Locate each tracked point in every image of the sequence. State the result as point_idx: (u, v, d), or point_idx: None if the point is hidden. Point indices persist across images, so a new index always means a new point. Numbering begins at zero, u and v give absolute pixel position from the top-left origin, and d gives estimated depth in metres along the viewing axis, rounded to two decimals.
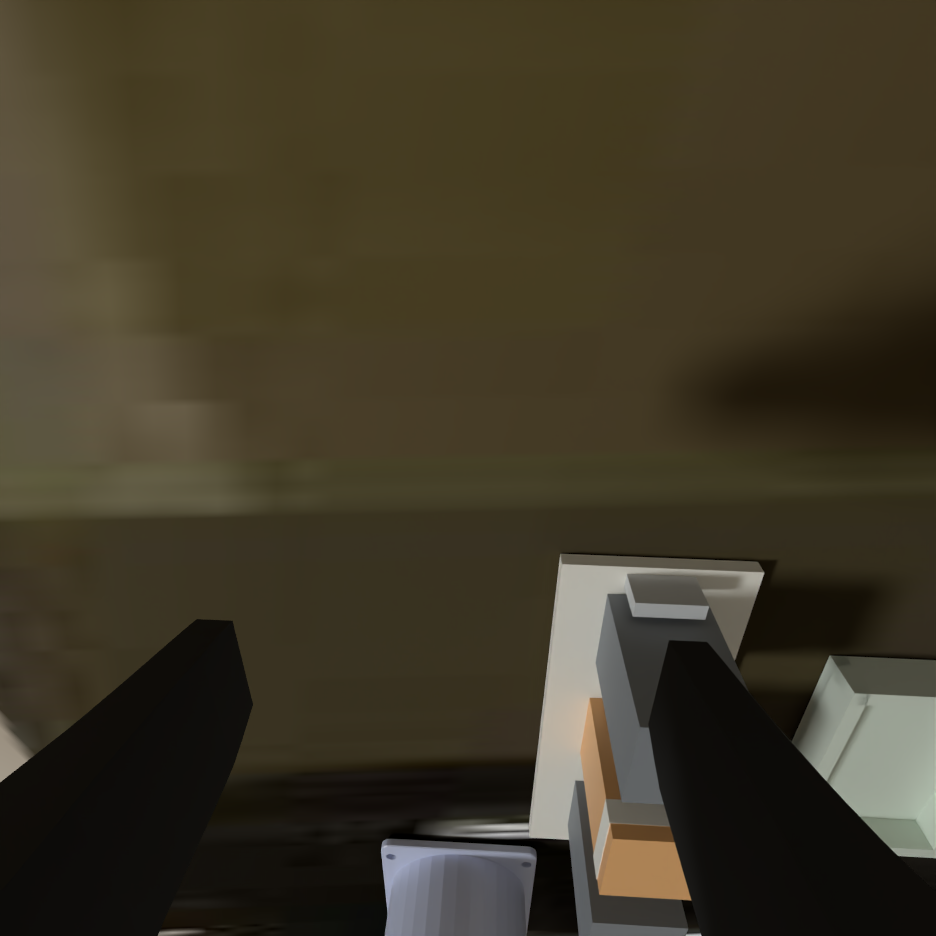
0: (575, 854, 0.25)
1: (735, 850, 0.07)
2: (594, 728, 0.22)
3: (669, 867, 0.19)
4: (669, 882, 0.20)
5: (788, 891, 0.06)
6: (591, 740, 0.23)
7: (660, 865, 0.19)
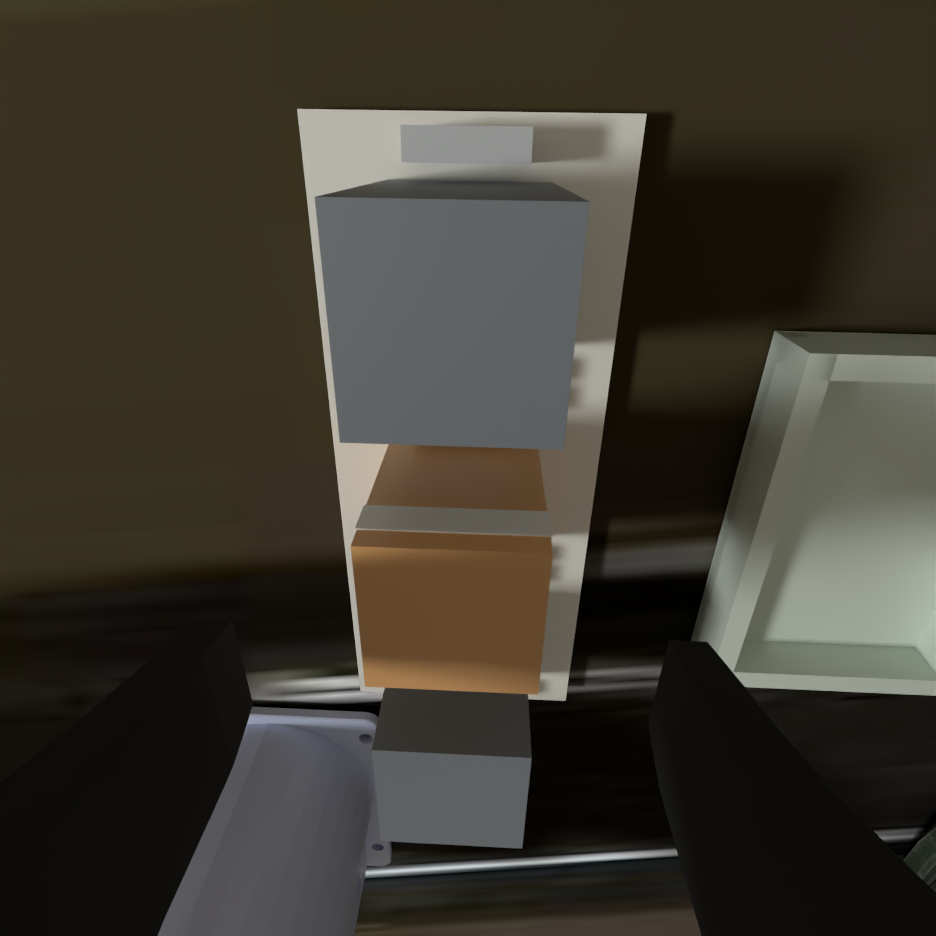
0: None
1: (735, 850, 0.07)
2: None
3: (469, 615, 0.11)
4: (477, 652, 0.11)
5: (788, 891, 0.06)
6: None
7: (452, 611, 0.11)
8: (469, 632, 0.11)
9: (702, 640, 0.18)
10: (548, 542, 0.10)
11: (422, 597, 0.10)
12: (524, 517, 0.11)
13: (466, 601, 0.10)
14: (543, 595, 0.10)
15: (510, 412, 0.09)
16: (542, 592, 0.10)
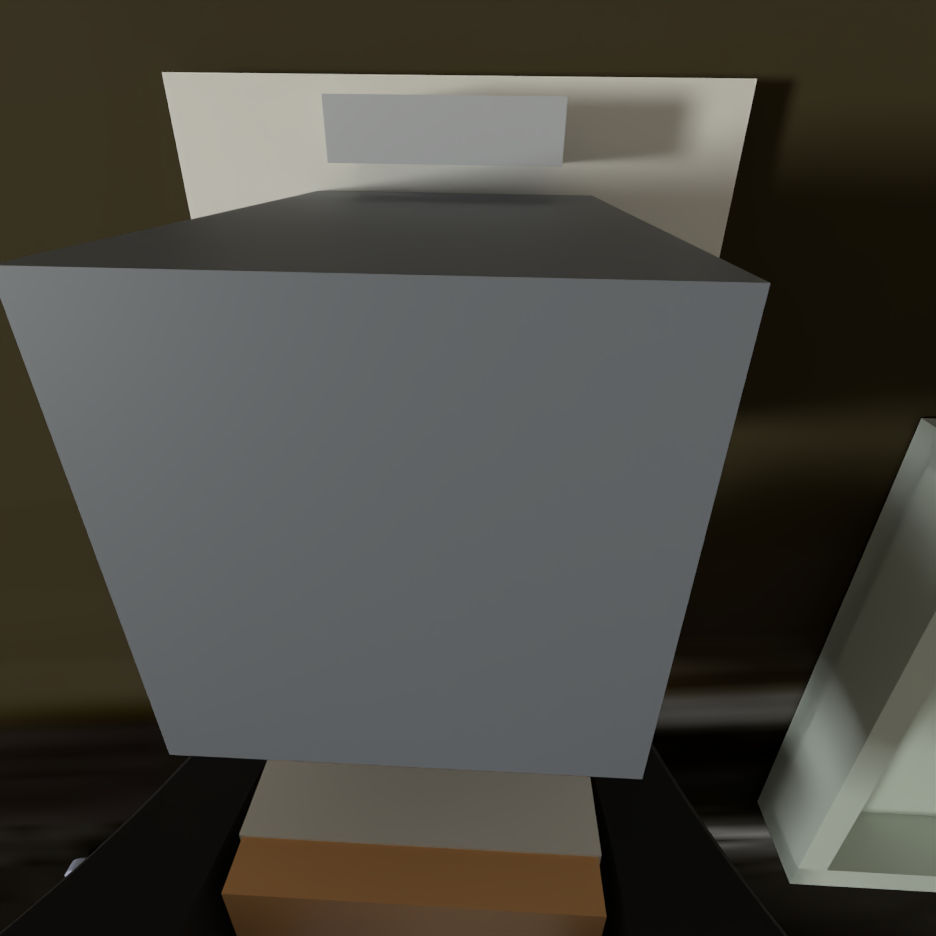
0: None
1: None
2: None
3: None
4: None
5: (609, 880, 0.06)
6: None
7: None
8: None
9: (778, 813, 0.13)
10: (595, 876, 0.05)
11: None
12: (545, 792, 0.06)
13: None
14: None
15: (529, 718, 0.04)
16: None
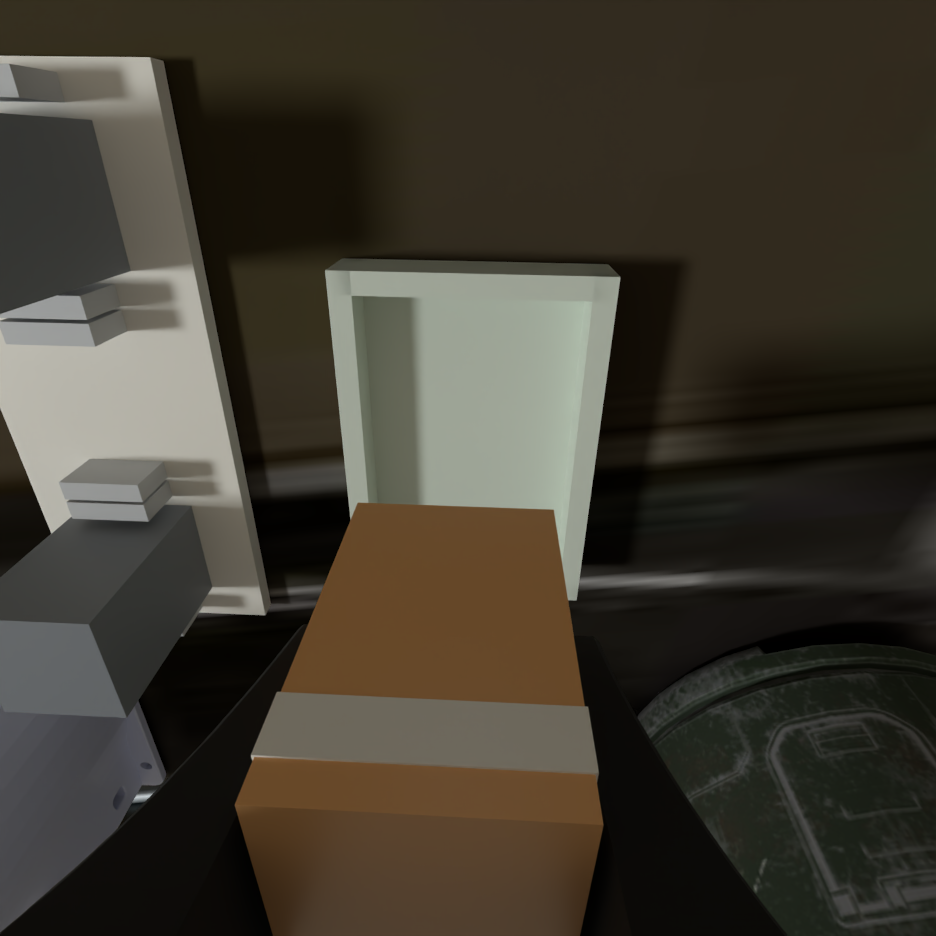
0: None
1: None
2: (340, 552, 0.09)
3: (452, 899, 0.06)
4: None
5: (609, 881, 0.06)
6: None
7: (422, 893, 0.06)
8: (453, 918, 0.06)
9: None
10: (593, 791, 0.06)
11: (369, 875, 0.06)
12: (546, 719, 0.06)
13: (447, 882, 0.06)
14: (582, 877, 0.06)
15: None
16: (581, 876, 0.06)
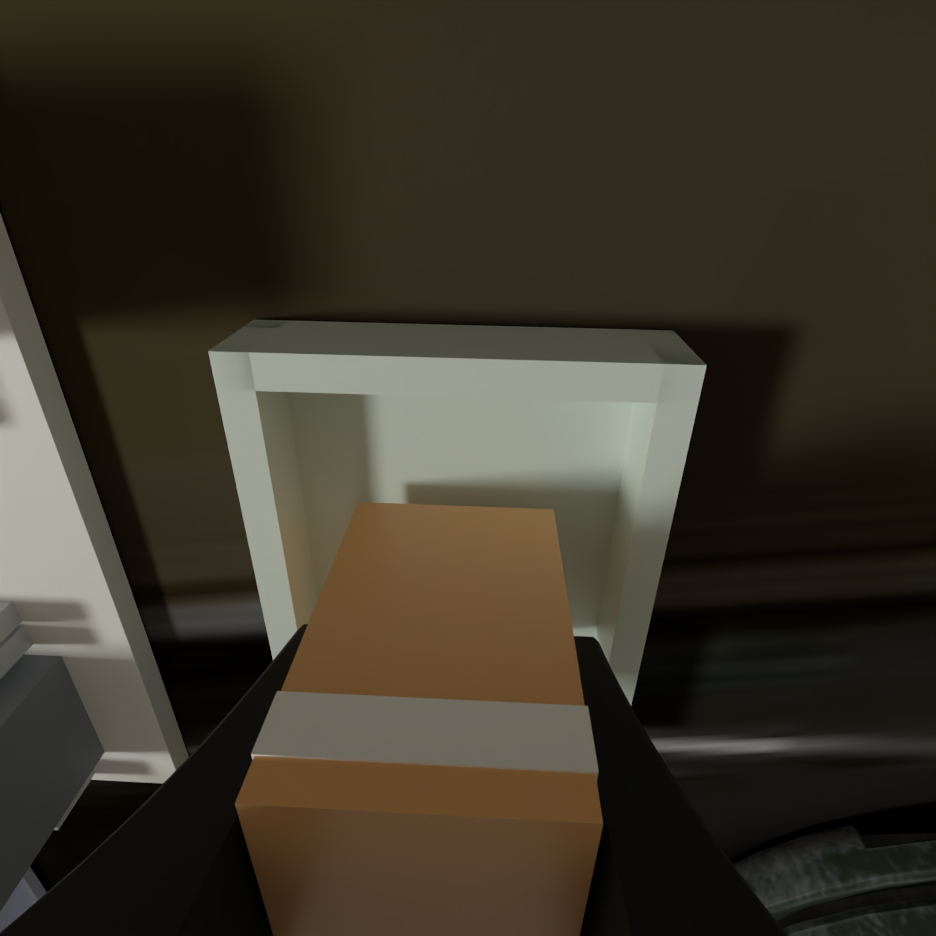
0: None
1: None
2: (340, 551, 0.09)
3: (452, 898, 0.06)
4: None
5: (609, 880, 0.06)
6: None
7: (422, 892, 0.06)
8: (453, 917, 0.06)
9: None
10: (592, 790, 0.06)
11: (369, 874, 0.06)
12: (545, 719, 0.06)
13: (446, 881, 0.06)
14: (582, 876, 0.06)
15: None
16: (581, 875, 0.06)
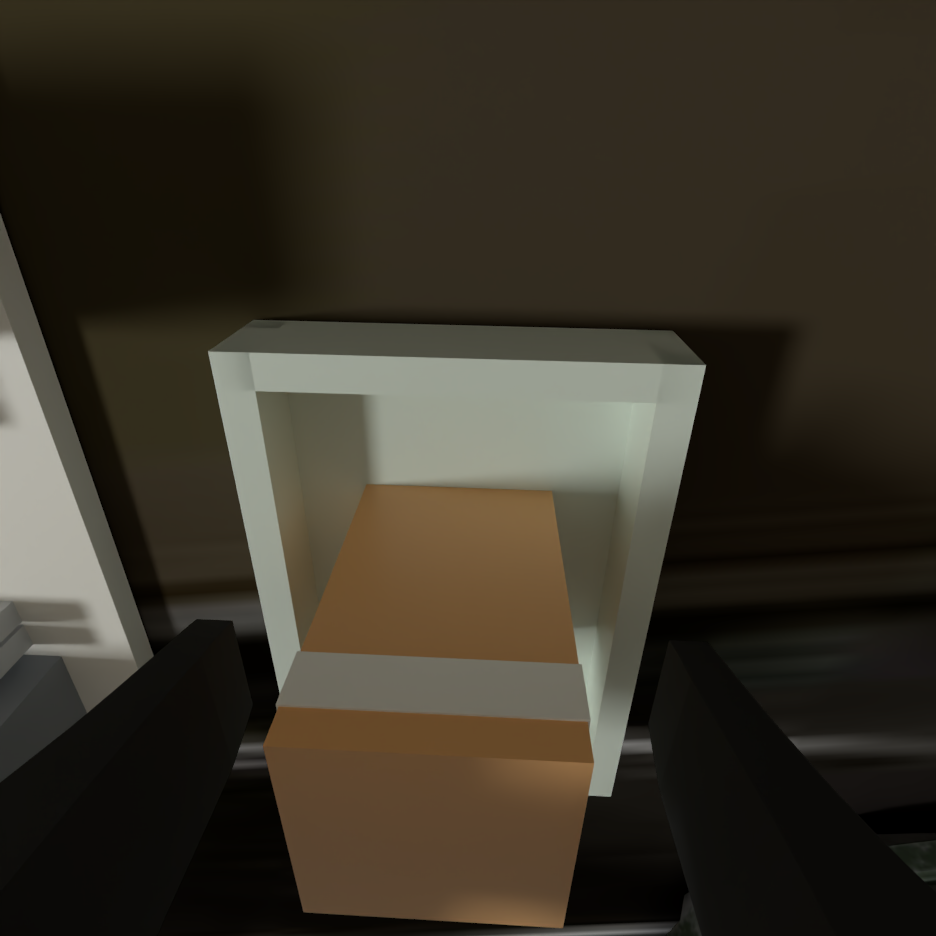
0: None
1: (735, 850, 0.07)
2: None
3: (458, 836, 0.07)
4: (471, 879, 0.07)
5: (788, 891, 0.06)
6: None
7: (431, 830, 0.07)
8: (458, 855, 0.07)
9: None
10: (585, 735, 0.06)
11: (383, 813, 0.07)
12: (543, 675, 0.07)
13: (453, 819, 0.07)
14: (576, 814, 0.06)
15: None
16: (574, 812, 0.06)
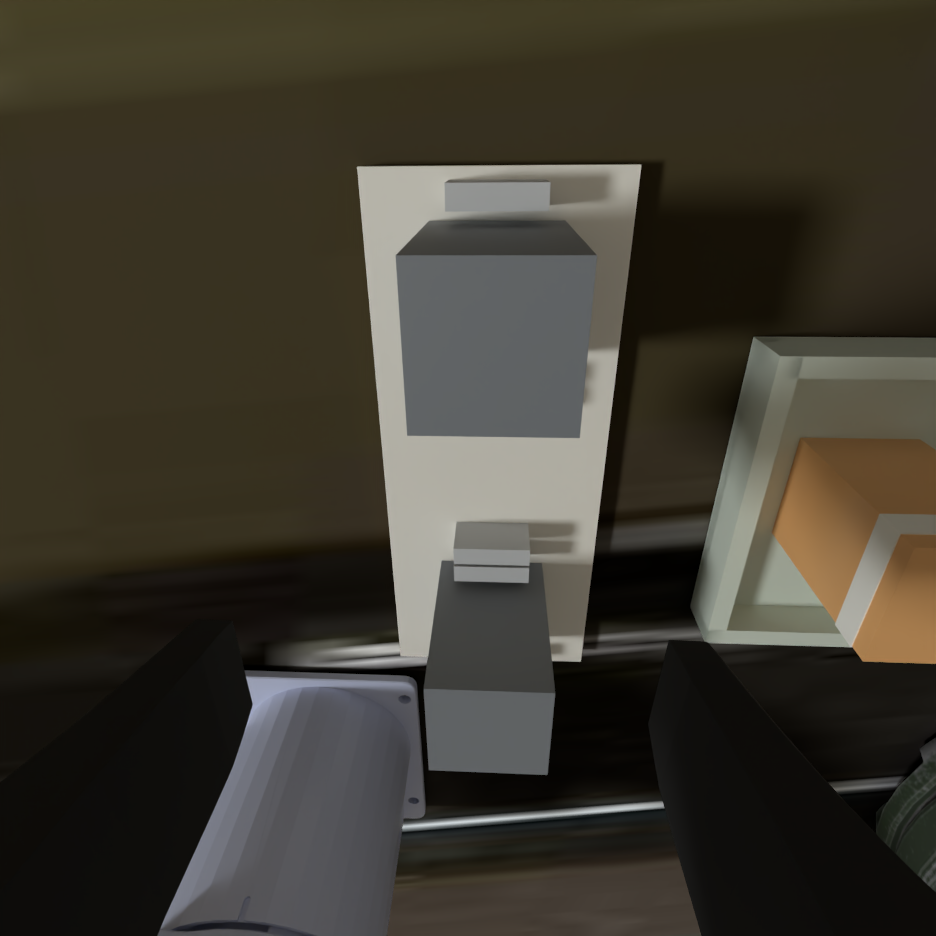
0: None
1: (735, 850, 0.07)
2: (821, 461, 0.16)
3: None
4: None
5: (788, 891, 0.06)
6: (812, 485, 0.17)
7: None
8: None
9: (699, 604, 0.20)
10: None
11: None
12: None
13: None
14: None
15: (538, 410, 0.11)
16: None
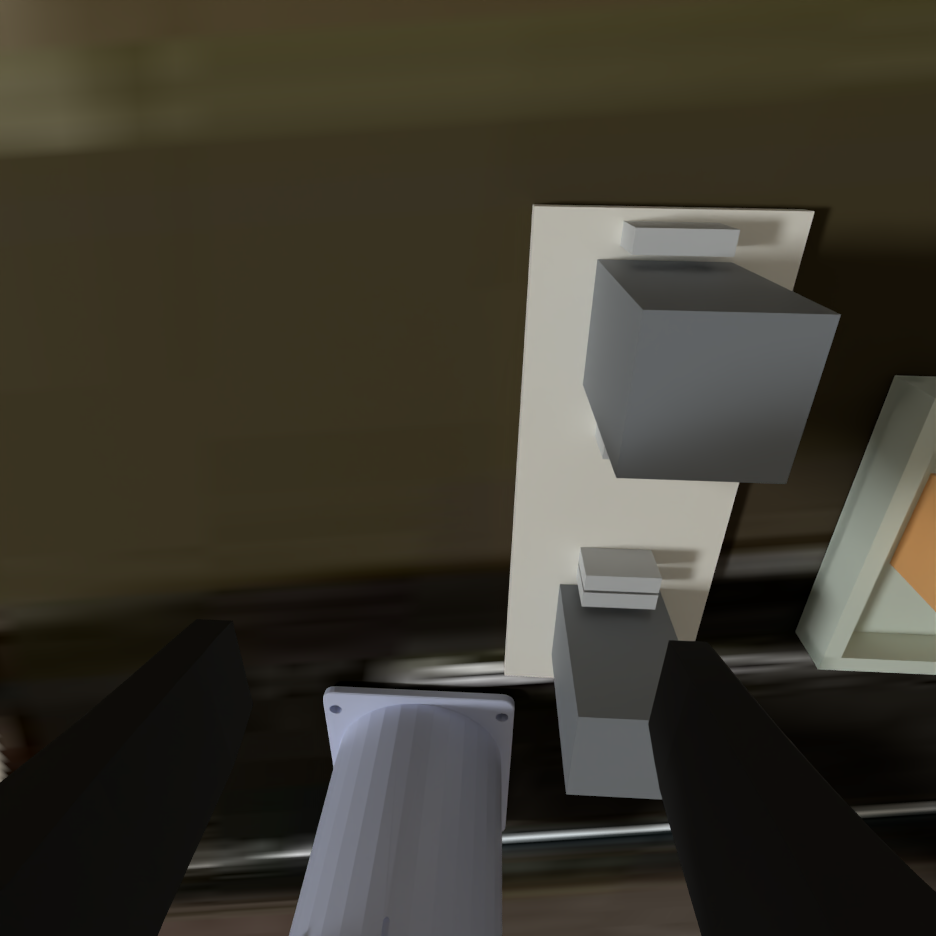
0: (559, 671, 0.20)
1: (734, 850, 0.07)
2: None
3: None
4: None
5: (788, 891, 0.06)
6: None
7: None
8: None
9: (810, 631, 0.21)
10: None
11: None
12: None
13: None
14: None
15: (751, 457, 0.12)
16: None
